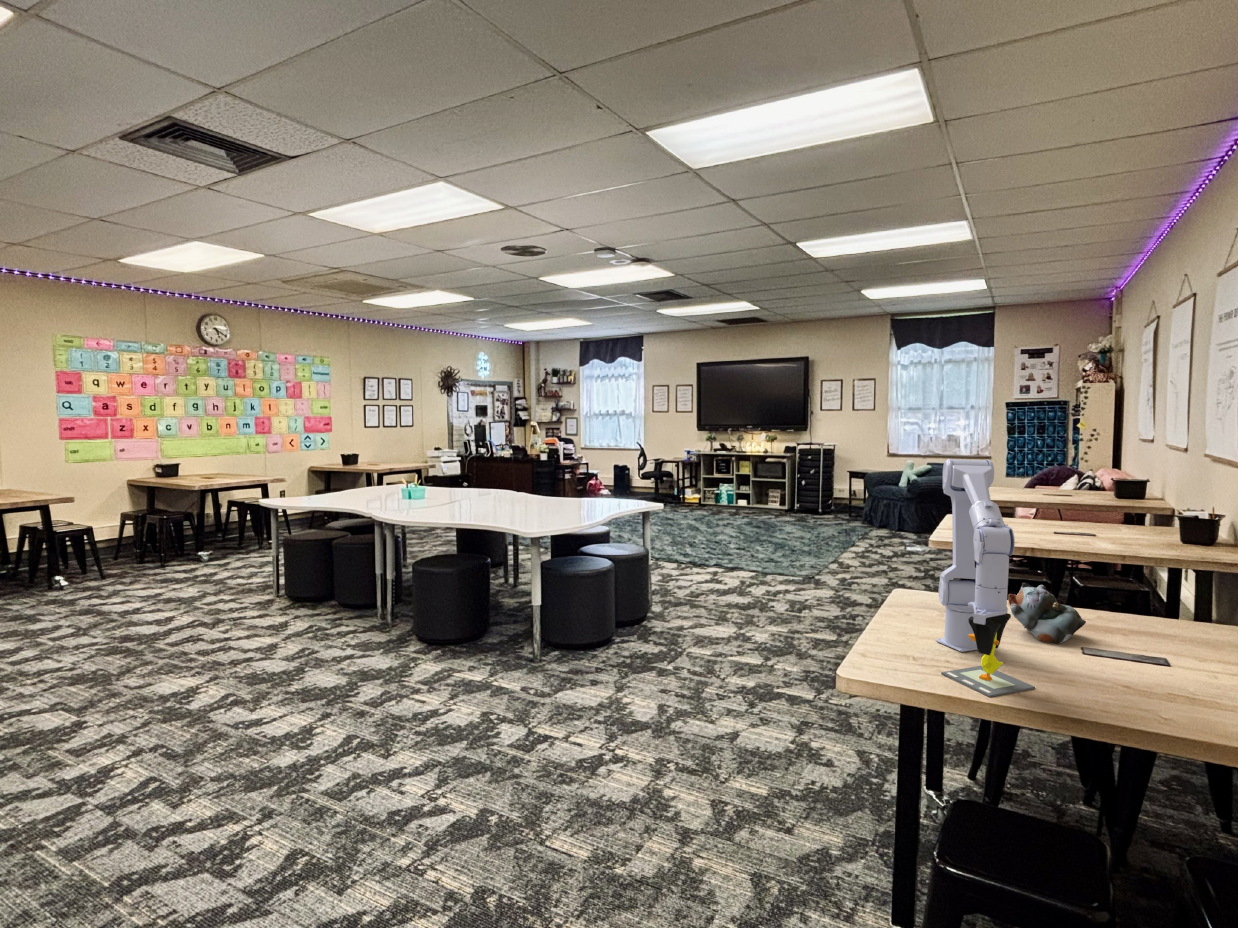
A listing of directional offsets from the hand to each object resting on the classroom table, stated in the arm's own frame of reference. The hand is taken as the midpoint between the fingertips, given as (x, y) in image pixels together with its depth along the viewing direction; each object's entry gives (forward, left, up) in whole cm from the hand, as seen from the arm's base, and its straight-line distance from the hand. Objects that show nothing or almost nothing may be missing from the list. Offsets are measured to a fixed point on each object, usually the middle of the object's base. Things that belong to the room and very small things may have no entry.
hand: (988, 650), depth 137 cm
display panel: (0, 0, -6) cm, 6 cm away
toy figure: (0, 0, -6) cm, 6 cm away
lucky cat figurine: (-37, -16, -7) cm, 41 cm away
